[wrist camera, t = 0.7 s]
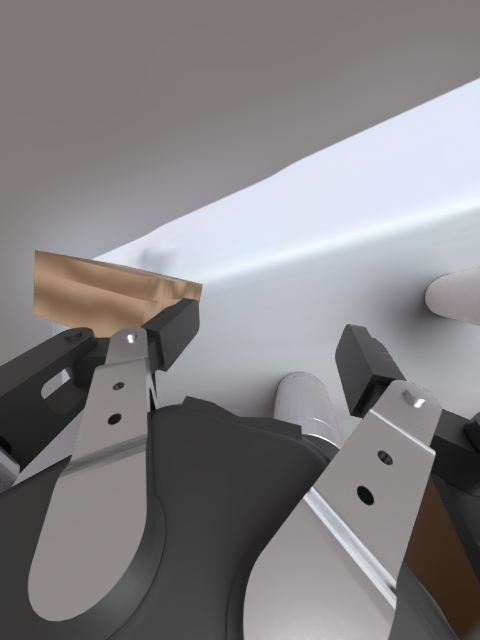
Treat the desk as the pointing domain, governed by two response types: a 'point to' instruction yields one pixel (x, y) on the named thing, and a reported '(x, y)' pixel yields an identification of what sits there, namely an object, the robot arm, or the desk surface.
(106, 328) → the brown piece
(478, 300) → the coffee cup
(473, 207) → the desk surface
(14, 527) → the robot arm
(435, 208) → the desk surface
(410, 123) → the desk surface
